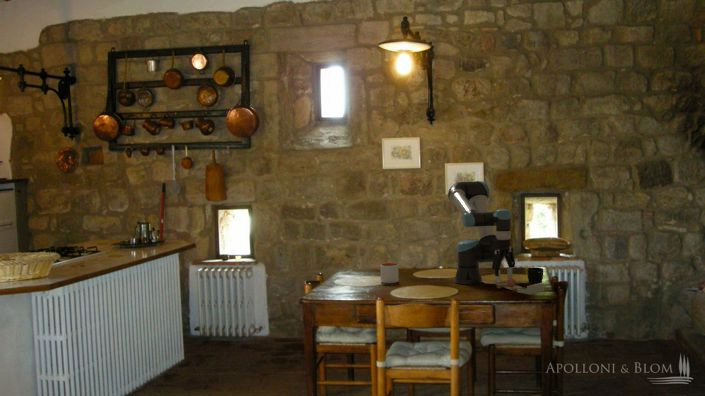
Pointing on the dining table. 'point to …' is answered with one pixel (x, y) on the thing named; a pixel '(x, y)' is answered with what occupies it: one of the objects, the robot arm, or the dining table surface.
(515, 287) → the ramp
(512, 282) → the ball
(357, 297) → the dining table surface
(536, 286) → the stop block
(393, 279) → the cup
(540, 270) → the mug
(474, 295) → the dining table surface
